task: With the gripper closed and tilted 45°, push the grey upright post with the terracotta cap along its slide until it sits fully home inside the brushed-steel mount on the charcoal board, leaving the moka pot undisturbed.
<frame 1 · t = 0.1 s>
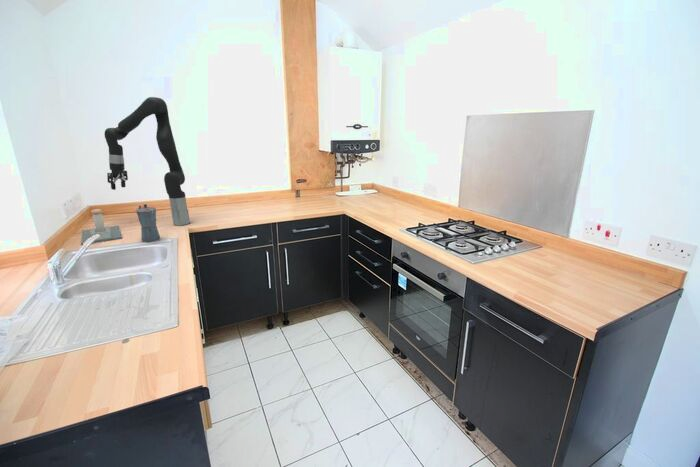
hand: (118, 188, 210), 23 cm above the worktop, tool pointing down, fingers open, 8 cm apart
moka pot: (150, 239, 186), on the worktop
grey upright post: (98, 221, 192), point 8 cm above the worktop, slide at 7.0 cm
board: (101, 235, 193), on the worktop
mount: (101, 233, 186), on the board, point 3 cm above the worktop
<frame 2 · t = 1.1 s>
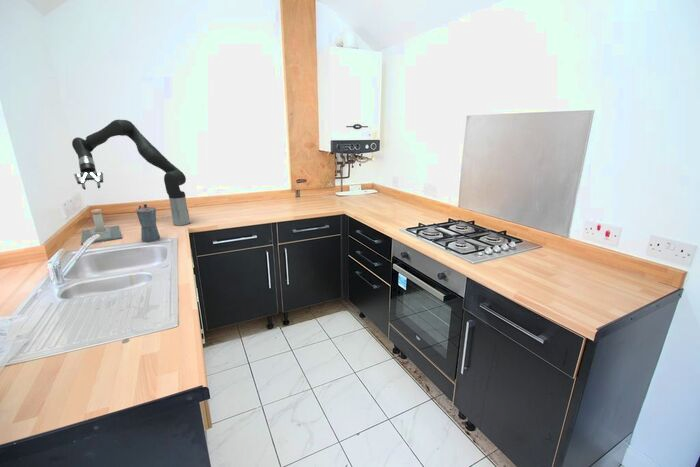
hand: (91, 188, 199), 24 cm above the worktop, tool tilted 45°, fingers open, 6 cm apart
nothing on the worktop moved.
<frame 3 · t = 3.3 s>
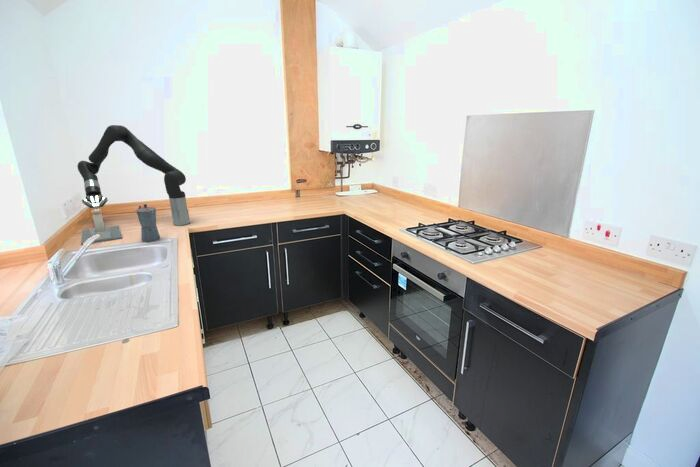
hand: (97, 212, 200), 11 cm above the worktop, tool tilted 45°, fingers closed
nothing on the worktop moved.
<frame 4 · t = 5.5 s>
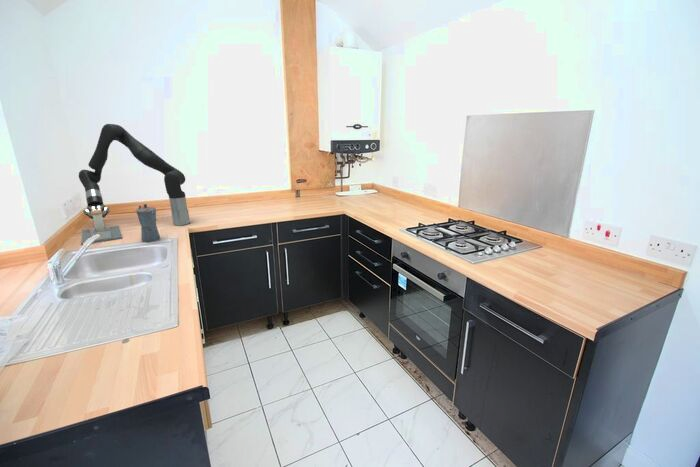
hand: (99, 223, 193), 6 cm above the worktop, tool tilted 45°, fingers closed
grey upright post: (98, 221, 191), point 8 cm above the worktop, slide at 5.6 cm, touching gripper
everything else where it was.
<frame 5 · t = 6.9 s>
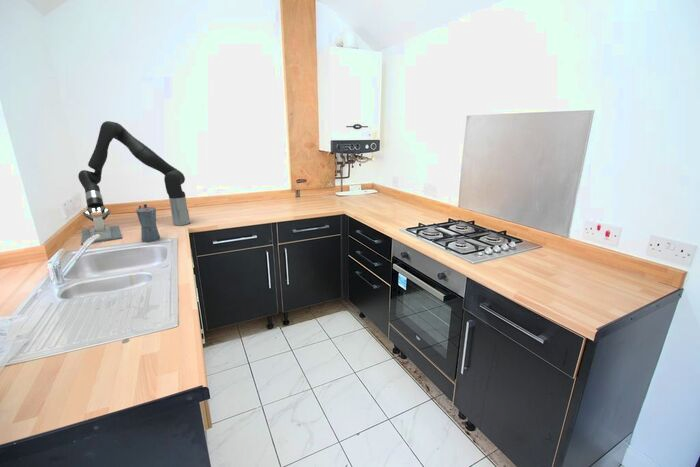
hand: (99, 225, 189), 6 cm above the worktop, tool tilted 45°, fingers closed
grey upright post: (99, 224, 186), point 8 cm above the worktop, slide at -0.1 cm, touching gripper
everything else where it was.
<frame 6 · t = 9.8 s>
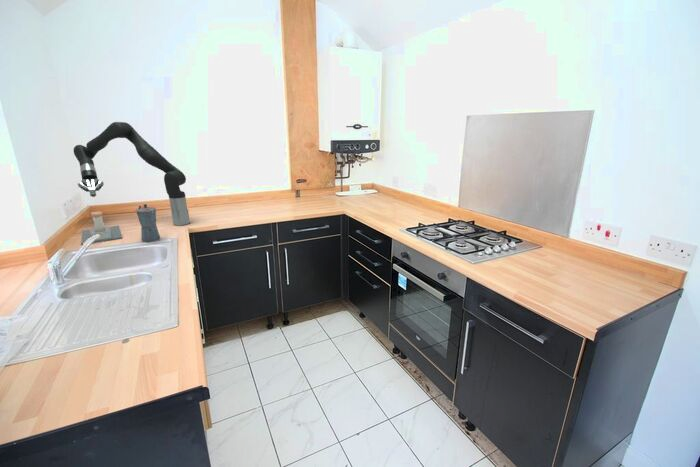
hand: (93, 196, 200), 20 cm above the worktop, tool tilted 45°, fingers closed
grey upright post: (99, 224, 186), point 8 cm above the worktop, slide at 0.0 cm
everything else where it was.
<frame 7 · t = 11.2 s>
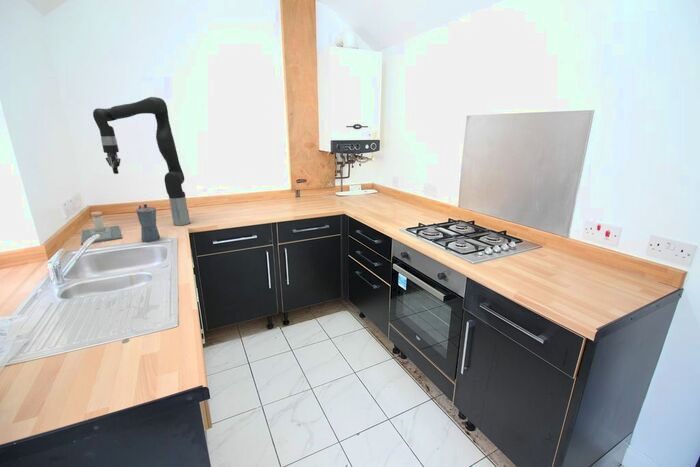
hand: (116, 173, 206), 32 cm above the worktop, tool pointing down, fingers closed
nothing on the worktop moved.
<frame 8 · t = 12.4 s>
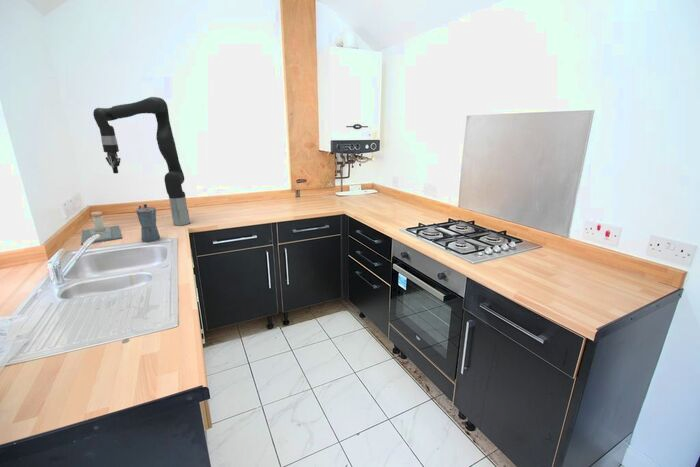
hand: (116, 173, 206), 32 cm above the worktop, tool pointing down, fingers closed
nothing on the worktop moved.
at the end: grey upright post slide at 0.0 cm; moka pot moved 0.2 cm from its start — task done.
